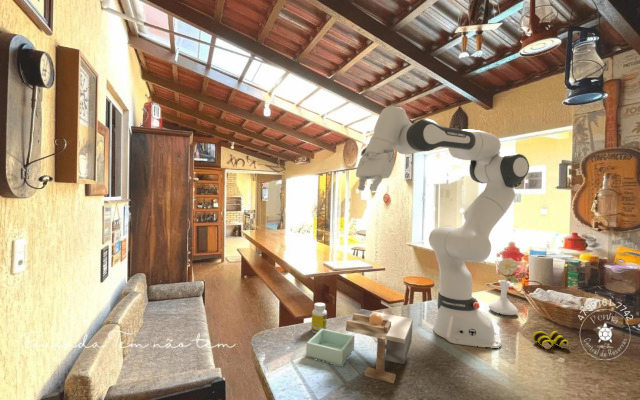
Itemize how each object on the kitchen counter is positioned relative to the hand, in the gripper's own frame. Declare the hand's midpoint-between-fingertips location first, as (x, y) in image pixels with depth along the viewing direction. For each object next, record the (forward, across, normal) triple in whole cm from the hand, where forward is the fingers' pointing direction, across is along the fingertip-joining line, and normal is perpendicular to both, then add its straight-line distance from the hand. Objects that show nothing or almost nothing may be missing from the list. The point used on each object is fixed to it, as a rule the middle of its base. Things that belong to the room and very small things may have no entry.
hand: (366, 190), depth 106 cm
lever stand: (+48, -12, -20) cm, 53 cm away
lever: (+45, -11, -17) cm, 49 cm away
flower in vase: (+26, +12, -87) cm, 91 cm away
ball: (+37, -13, -11) cm, 41 cm away
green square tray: (+53, -4, -5) cm, 53 cm away
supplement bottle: (+53, +12, -6) cm, 55 cm away
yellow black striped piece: (+29, -17, -78) cm, 84 cm away
